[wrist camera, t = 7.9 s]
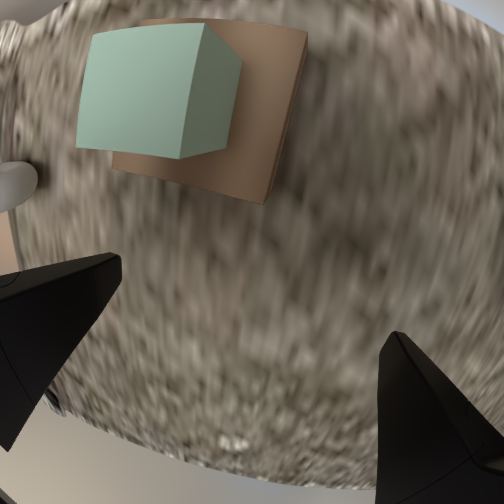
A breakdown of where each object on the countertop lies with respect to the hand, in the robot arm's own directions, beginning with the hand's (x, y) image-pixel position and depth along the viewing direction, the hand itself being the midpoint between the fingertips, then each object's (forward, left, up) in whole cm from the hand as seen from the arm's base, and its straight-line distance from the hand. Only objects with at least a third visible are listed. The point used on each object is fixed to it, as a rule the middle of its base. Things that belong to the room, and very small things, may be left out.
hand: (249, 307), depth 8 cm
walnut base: (+6, -6, -12) cm, 15 cm away
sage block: (+6, -6, -8) cm, 12 cm away
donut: (+26, +1, -12) cm, 28 cm away
